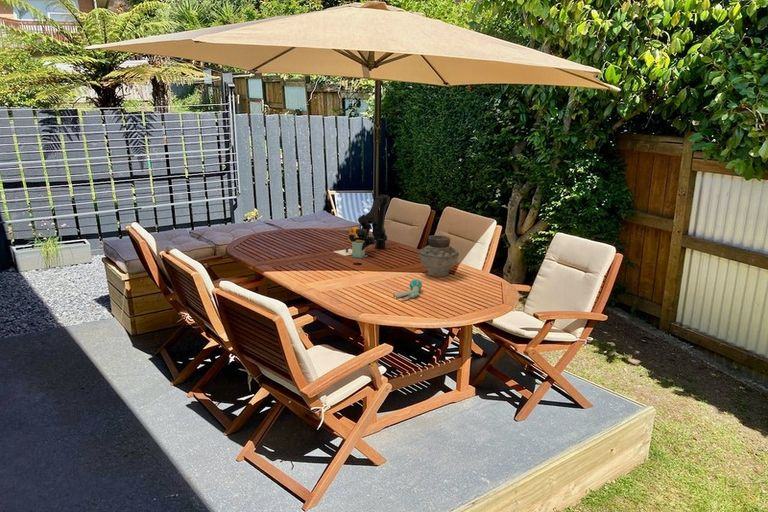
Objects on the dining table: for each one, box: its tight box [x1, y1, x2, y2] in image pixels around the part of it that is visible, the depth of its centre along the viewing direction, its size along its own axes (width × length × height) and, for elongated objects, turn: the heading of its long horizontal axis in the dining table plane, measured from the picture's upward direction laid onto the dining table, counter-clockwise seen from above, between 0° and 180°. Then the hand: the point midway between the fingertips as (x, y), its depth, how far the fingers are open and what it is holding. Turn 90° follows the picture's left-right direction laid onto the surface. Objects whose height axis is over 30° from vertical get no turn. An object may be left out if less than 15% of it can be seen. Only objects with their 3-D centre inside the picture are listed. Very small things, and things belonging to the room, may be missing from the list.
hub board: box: [332, 246, 352, 256], centre depth 418 cm, size 14×14×5 cm
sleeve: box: [351, 241, 366, 259], centre depth 406 cm, size 6×6×10 cm
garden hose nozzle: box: [392, 278, 423, 302], centre depth 331 cm, size 7×18×20 cm
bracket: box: [347, 226, 361, 243], centre depth 452 cm, size 11×7×12 cm, turn 38°
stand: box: [349, 254, 369, 260], centre depth 407 cm, size 10×10×5 cm
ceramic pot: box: [418, 234, 460, 278], centre depth 370 cm, size 25×25×24 cm
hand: (357, 249), depth 405 cm, fingers closed on sleeve, 6 cm apart
